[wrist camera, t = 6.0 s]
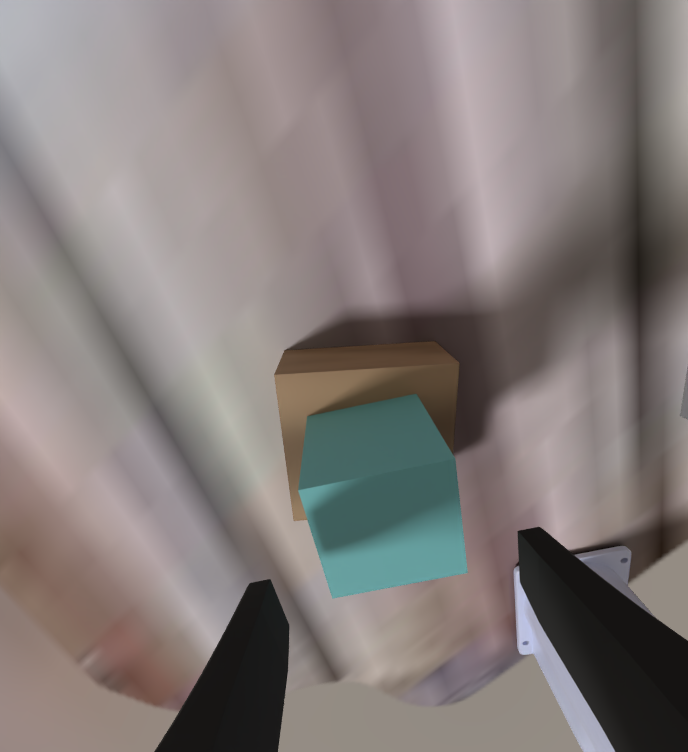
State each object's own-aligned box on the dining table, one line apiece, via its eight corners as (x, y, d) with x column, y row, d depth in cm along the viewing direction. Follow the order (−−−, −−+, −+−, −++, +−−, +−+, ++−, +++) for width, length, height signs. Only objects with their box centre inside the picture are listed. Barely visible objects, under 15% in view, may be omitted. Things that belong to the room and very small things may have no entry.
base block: (428, 463, 21) (448, 509, 18) (299, 472, 21) (293, 520, 18) (433, 339, 19) (459, 363, 15) (285, 348, 18) (274, 374, 15)
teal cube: (429, 483, 17) (467, 572, 12) (331, 502, 17) (332, 598, 13) (416, 393, 15) (455, 458, 11) (307, 416, 15) (298, 490, 11)
